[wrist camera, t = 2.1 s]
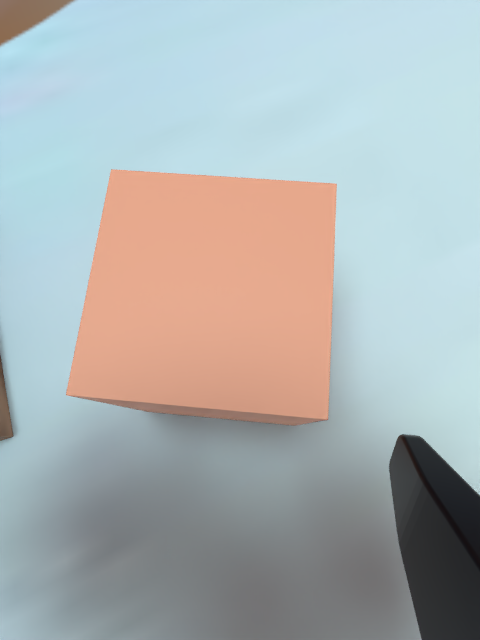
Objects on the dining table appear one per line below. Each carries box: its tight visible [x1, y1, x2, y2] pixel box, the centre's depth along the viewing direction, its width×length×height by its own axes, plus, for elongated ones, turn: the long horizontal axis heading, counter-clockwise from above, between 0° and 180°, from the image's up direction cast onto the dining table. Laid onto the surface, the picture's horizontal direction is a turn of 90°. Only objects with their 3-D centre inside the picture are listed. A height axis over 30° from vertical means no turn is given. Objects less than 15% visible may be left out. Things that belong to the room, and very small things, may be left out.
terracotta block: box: [66, 169, 337, 426], centre depth 16 cm, size 7×7×9 cm
